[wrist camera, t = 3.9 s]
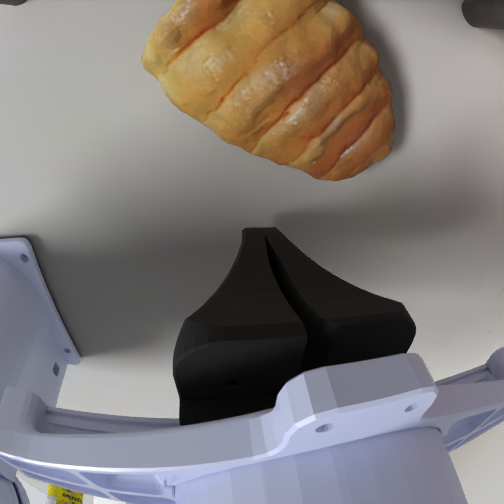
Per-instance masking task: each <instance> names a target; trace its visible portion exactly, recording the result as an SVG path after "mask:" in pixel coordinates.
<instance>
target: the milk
mask: <svg viewBox="0 0 504 504" xmlns="http://www.w3.org/2000/svg"><path fill="white" fill-rule="evenodd" d="M94 504H130V503H125V502H119V501H114V500H110V499H105V498H101V497H96V496H94Z"/></svg>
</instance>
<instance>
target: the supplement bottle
mask: <svg viewBox="0 0 504 504" xmlns="http://www.w3.org/2000/svg"><path fill="white" fill-rule="evenodd" d="M82 500H83V493H80V492H77V491H73V490H69V489H66V488H62V487H59V486H55V485H52V484H49V487H48V494H47V503H46V504H82Z"/></svg>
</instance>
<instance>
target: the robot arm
mask: <svg viewBox="0 0 504 504" xmlns="http://www.w3.org/2000/svg"><path fill="white" fill-rule="evenodd" d="M24 254H25V255H26V256H27V257H28V258H27V257H25V255H24ZM415 334H416V326H415V323H414V321H413V319H412V318H411V316H410V315H409V313H408V311H407V310H406V308H405V307H404V305H403V304H402V303H401V302H397V301H394V300H391V299H388V298H384V297H381V296H378V295H375V294H373V293H370V292H368V291H365V290H363V289H360V288H358V287H356V286H354V285H352V284H350V283H348V282H346V281H344V280H342V279H340V278H338V277H337V276H335V275H333V274H332V273H330V272H329V271H327V270H325V269H324V268H322V267H321V266H319V265H318V264H317V263H315V262H314V261H313V260H311V259H310V258H309V257H308V256H306V255H305V254H304V253H303V252H302V251H300V250H299V249H298V248H297V247H296V246H295V245H294V244H293V243H291V242H290V241H289V240H288V239H287V238H286V237H285V236H284V235H283V234H282V233H281V232H280V231H279V230H278V229H277V228H276V227H270V228H244V229H243V230H242V243H241V246H240V249H239V252H238V255H237V257H236V260H235V262H234V264H233V266H232V268H231V270H230V272H229V273H228V275H227V277H226V278H225V280H224V281H223V283H222V284H221V285H220V287H219V288H218V289H217V291H216V292H215V293H214V294H213V295H212V296H211V297H210V298H209V299H208V300H207V302H206V303H205V304H204V305H203V306H202V307H200V308H199V309H198V310H197V311H196V312H194V313H193V314H192V315H191V316H189V317H188V318H187V319H185V321H184V323H183V326H182V328H181V331H180V333H179V336H178V339H177V342H176V346H175V350H174V356H173V377H174V380H175V384H176V387H177V391H178V394H179V398H180V410H179V419H170V418H144V417H129V416H116V415H106V414H97V413H89V412H81V411H74V410H68V409H62V408H56V403H57V399H58V396H59V392H60V388H61V385H62V381H63V378H64V375H65V371H66V368H67V365H68V364H73V365H77V364H79V363H80V359H81V358H80V356H79V354H78V352H77V350H76V348H75V346H74V344H73V342H72V340H71V338H70V337H69V335H68V333H67V330H66V328H65V326H64V324H63V322H62V320H61V318H60V316H59V314H58V312H57V309H56V307H55V305H54V303H53V300H52V298H51V296H50V293H49V291H48V289H47V286H46V284H45V281H44V279H43V276H42V274H41V271H40V268H39V266H38V263H37V260H36V257H35V255H34V252H33V249H32V246H31V244H30V242H29V241H28V240H27V239H25V238H22V237H21V238H7V239H0V504H30V502H29V499H28V496H27V494H26V491H25V489H24V487H23V485H22V483H21V482H20V481H19V480H18V478H17V477H16V471H17V470H18V471H20V472H21V473H23V474H24V475H26V476H28V477H30V478H33V479H36V480H39V481H42V482H45V483H49V484H52V485H55V486H59V487H62V488H66V489H69V490H73V491H77V492H80V493H84V494H88V495H92V496H96V497H101V498H105V499H110V500H114V501H119V502H125V503H130V504H468V503H467V500H466V498H465V495H464V492H463V489H462V486H461V484H460V481H459V478H458V476H457V473H456V470H455V468H454V465H453V463H452V460H451V458H450V455H449V452H451V451H453V450H455V449H457V448H459V447H460V446H462V445H464V444H466V443H467V442H469V441H471V440H473V439H474V438H476V437H478V436H479V435H481V434H483V433H485V432H486V431H488V430H489V429H491V428H493V427H495V426H496V425H498V424H499V423H501V422H503V421H504V347H502V348H500V349H498V350H496V351H495V352H494V353H493V354H492V355H491V356H490V358H489V359H488V360H487V362H486V364H484V365H481V366H479V367H476V368H473V369H471V370H468V371H465V372H463V373H460V374H457V375H454V376H451V377H448V378H445V379H442V380H439V381H436V382H434V380H433V378H432V376H431V374H430V372H429V370H428V369H427V367H426V365H425V363H424V361H423V359H422V358H421V357H420V356H419V355H418V354H415V353H407V351H408V349H409V348H410V346H411V344H412V342H413V339H414V337H415Z"/></svg>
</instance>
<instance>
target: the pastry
mask: <svg viewBox="0 0 504 504" xmlns="http://www.w3.org/2000/svg"><path fill="white" fill-rule="evenodd" d="M142 63H143V65H144V68H145V70H147V71H148V72H149V73H151V74H152V75H153V76H154V77H155V78H156V79H157V80H158V81H159V83H160V84H161V86H162V89H163V91H164V93H165V94H166V96H167V97H168V98H169V99H170V101H171V102H172V103H173V104H174V105H175V106H176V107H177V108H179V109H180V110H181V111H182V112H184V113H186V114H188V115H189V116H191V117H193V118H194V119H196V120H198V121H199V122H201V123H202V124H203V125H205V126H207V127H209V128H210V129H212V130H213V131H214V132H215V133H216V134H217V135H218V136H219V137H221V138H222V139H223V140H224V141H225V142H227V143H229V144H233V145H236V146H239V147H241V148H243V149H244V150H246V151H247V152H249V153H251V154H253V155H256V156H259V157H263V158H267V159H270V160H271V161H273V162H275V163H277V164H278V165H286V166H289V167H291V168H296V169H299V170H302V171H304V172H306V173H308V174H310V175H311V176H312V177H314V178H315V179H319V180H331V181H339V180H343V179H347V178H352V177H354V176H356V175H357V174H359V173H361V172H362V171H364V170H365V169H367V168H368V167H369V166H370V165H372V164H373V163H374V162H376V161H379V160H382V159H383V158H385V157H386V156H387V155H389V154H390V152H391V148H392V143H393V141H392V135H393V132H394V129H395V119H394V113H393V111H392V107H391V97H392V90H391V87H390V83H389V81H388V80H387V78H385V77H384V75H383V74H382V72H381V70H380V68H379V55H378V53H377V51H376V49H375V48H374V46H373V45H372V44H371V43H370V42H369V41H368V40H367V39H366V37H365V36H364V34H363V27H362V22H361V21H360V20H359V19H358V18H357V17H356V16H355V15H354V14H353V13H352V12H351V11H350V10H348V9H347V8H345V7H343V6H342V5H340V4H339V3H338V1H337V0H175V2H174V4H173V6H172V7H171V9H170V10H169V12H168V13H166V14H164V15H163V16H162V17H161V18H160V20H159V21H158V23H157V25H156V26H155V28H154V29H153V31H152V33H151V34H150V36H149V38H148V39H147V41H146V45H145V49H144V52H143V56H142Z"/></svg>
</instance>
